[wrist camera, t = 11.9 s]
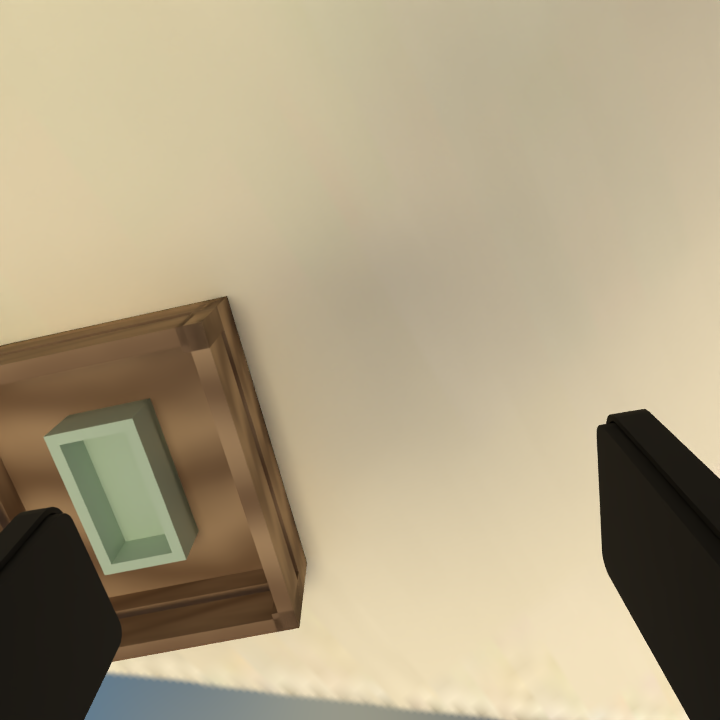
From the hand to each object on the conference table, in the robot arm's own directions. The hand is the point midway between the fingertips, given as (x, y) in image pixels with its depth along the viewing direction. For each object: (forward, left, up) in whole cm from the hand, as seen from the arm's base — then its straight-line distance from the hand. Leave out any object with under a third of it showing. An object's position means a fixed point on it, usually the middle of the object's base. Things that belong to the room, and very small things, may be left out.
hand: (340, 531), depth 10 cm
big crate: (+10, -17, -25) cm, 32 cm away
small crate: (+10, -16, -24) cm, 31 cm away
